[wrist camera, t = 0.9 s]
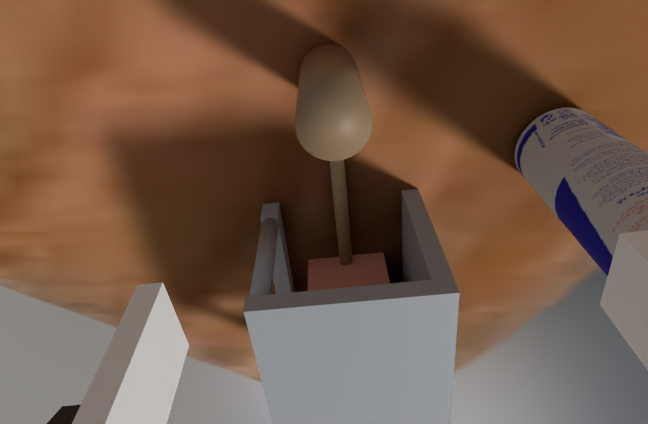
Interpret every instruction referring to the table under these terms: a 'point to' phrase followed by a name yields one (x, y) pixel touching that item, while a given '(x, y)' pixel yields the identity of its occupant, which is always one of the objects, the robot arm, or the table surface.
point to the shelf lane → (356, 334)
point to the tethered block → (336, 155)
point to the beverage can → (586, 178)
